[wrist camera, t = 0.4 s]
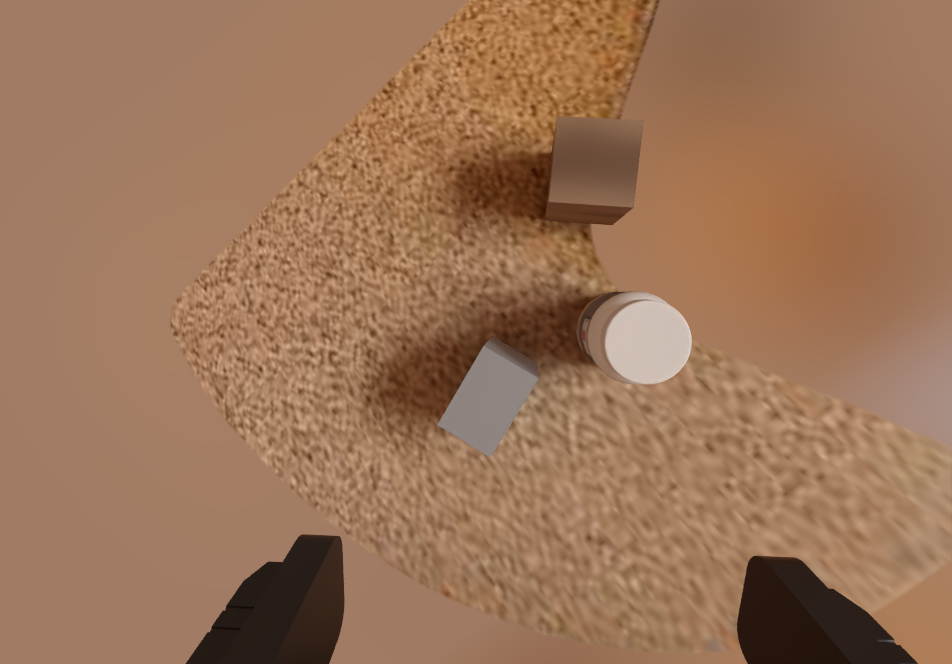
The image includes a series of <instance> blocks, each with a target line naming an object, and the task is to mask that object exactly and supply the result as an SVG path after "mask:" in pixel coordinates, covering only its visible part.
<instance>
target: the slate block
mask: <svg viewBox="0 0 952 664" xmlns="http://www.w3.org/2000/svg"><path fill="white" fill-rule="evenodd" d="M538 379H539V377H538V369H537V362H536V361H534V360H532V359H531V358H529V357H527V356H525V355H524V354H522V353H520V352H519V351H517V350H515V349H514V348H512V347H510V346H508V345H507V344H505V343H503V342H502V341H500V340H498V339H497V338H495V337H493V336H492V337H491V338H490V339H489V340H488V341H487V343H486V344H485V345H484V346H483V348H482V349H481V351H480V353H479V355H478V356H477V358H476V360H475V361H474V363H473V365H472V367H471V368H470V370H469V372H468V373H467V375H466V377H465V378H464V380H463V382H462V384H461V385H460V387H459V389H458V390H457V392H456V394H455V396H454V397H453V399H452V401H451V402H450V404H449V406H448V408H447V409H446V411H445V413H444V414H443V416H442V418H441V419H440V421H439V423H438V426H440V427H441V428H443V429H445V430H446V431H448V432H449V433H451V434H453V435H454V436H456V437H458V438H459V439H461V440H463V441H464V442H466V443H468V444H469V445H471V446H472V447H474V448H476V449H477V450H479V451H481V452H482V453H484V454H486V455H487V456H489V457H491V456H492V454H493V452H494V451H495V449H496V448H497V446H498V444H499V443H500V441H501V439H502V438H503V436H504V434H505V433H506V431H507V429H508V428H509V426H510V425H511V423H512V421H513V420H514V418H515V416H516V415H517V413H518V411H519V410H520V408H521V407H522V405H523V403H524V402H525V400H526V398H527V397H528V395H529V393H530V392H531V390H532V389H533V387H534V385H535V384H536V382H537V380H538Z"/></svg>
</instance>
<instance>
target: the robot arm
mask: <svg viewBox="0 0 952 664" xmlns="http://www.w3.org/2000/svg"><path fill="white" fill-rule="evenodd" d="M343 614H344V579H343V552H342V541H341V538H340V537H339V536H326V535H300V536H299V537H298V539H297V540H296V541H295V543H294V545H293V546H292V548H291V550H290V551H289V553H288V554H287V556H286V558H285V559H284V561H283V562H267V563H266V564H265V565H264V566H262V567H261V568H260V569H259V570H257V571H256V572H255V573H253V574H252V575H251V576H250V577H248V578H247V579H246V580H244V581H243V583H242V584H241V586H240V587H239V588H238V590H237V591H236V593H235V594H234V595H233V597H232V599H231V600H230V601H229V603H228V604H227V606H226V610H225V611H222V613H221V614H220V615H219V617H218V618H217V620H216V621H215V623H214V624H213V626H212V629H211V631H210V632H208V633H207V634H206V635H205V637H204V638H203V640H202V641H201V643H200V644H199V646H198V647H197V648H196V650H195V651H194V653H193V654H192V655H191V657H190V658H189V660H188V661H187V663H186V664H329V662H330V660H331V657H332V654H333V652H334V649H335V645H336V643H337V641H338V638H339V634H340V630H341V626H342V621H343ZM737 632H738V639H739V643H740V647H741V650H742V653H743V655H744V657H745V659H746V661H747V663H748V664H918V663H917V662H916V661H915V660H914V659H913V658H912V657H911V656H910V655H909V654H908V653H907V652H906V651H905V650H904V649H903V648H902V647H901V646H900V645H896V644H895V642H894V639H893V638H892V637H891V636H890V635H889V634H888V633H887V632H886V631H885V630H884V629H883V628H882V627H881V626H880V625H879V624H878V623H877V622H876V621H875V620H874V619H873V617H872V616H871V615H870V614H869V613H868V612H866V611H865V610H863V609H862V608H860V607H859V606H858V605H856V604H855V603H853V602H852V601H850V600H849V599H847V598H846V597H844V596H843V595H841V594H840V593H839V592H837V591H836V590H834V589H828V588H827V587H826V586H825V585H824V583H823V582H822V581H821V580H820V579H819V578H818V577H817V576H816V575H815V574H814V573H813V572H812V571H811V570H810V569H809V568H808V567H807V566H806V564H804V563H803V562H802V561H801V560H799V559H797V558H793V557H770V556H753V557H752V558H751V559H750V560H749V562H748V566H747V571H746V576H745V582H744V587H743V593H742V598H741V604H740V609H739V615H738V621H737Z"/></svg>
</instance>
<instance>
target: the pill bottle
mask: <svg viewBox="0 0 952 664" xmlns="http://www.w3.org/2000/svg"><path fill="white" fill-rule="evenodd" d="M576 335H577V340H578V343H579V346H580V348H581V350H582V351H583V353H584V354H585V355H586V357H587V358H588V359H590V360H591V361H592V362H593V363H594V364H595V365H596V366H597V367H598V368H599V369H600V370H601V371H603V372H604V373H605V374H606V375H608V376H609V377H611V378H613V379H615V380H617V381H620V382H623V383H627V384H656V383H660V382H663V381H665V380H667V379H669V378H671V377H673V376H674V375H675V374H676V373H678V372H679V371H680V370H681V369H682V367H683V366H684V364H685V363H686V361H687V359H688V357H689V354H690V350H691V342H692V341H691V333H690V329H689V326H688V324H687V322H686V321H685V319H684V317H683V316H682V315H681V314H680V313H679V312H678V311H677V310H676V309H674V308H673V307H671V306H670V305H668V304H667V303H666V302H665V301H664V300H662V299H660V298H659V297H657V296H655V295H653V294H650V293H646V292H637V291H629V292H613V293H607V294H604V295H601V296H598V297H596V298H595V299H593V300H592V301H590V302H589V303H588V304H587V305H586V306H585V307H584V309H583V310H582V312H581V314H580V316H579V318H578V321H577V326H576Z"/></svg>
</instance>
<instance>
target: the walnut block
mask: <svg viewBox="0 0 952 664" xmlns="http://www.w3.org/2000/svg"><path fill="white" fill-rule="evenodd" d="M642 130H643V120H623V119H602V118H581V117H560V116H557V121H556V128H555V134H554V140H553V147H552V154H551V163H550V173H549V183H548V193H547V203H546V213H545V220H549V221H563V222H577V223H591V224H604V225H613V224H614V223H615V222H616V221H618V220H619V219H620V218H621V217H623V216H624V215H625V214H626V213H627V212H629V211H630V210H631V209H632V208H633V207H634V198H635V189H636V181H637V172H638V163H639V156H640V147H641V139H642Z"/></svg>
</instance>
